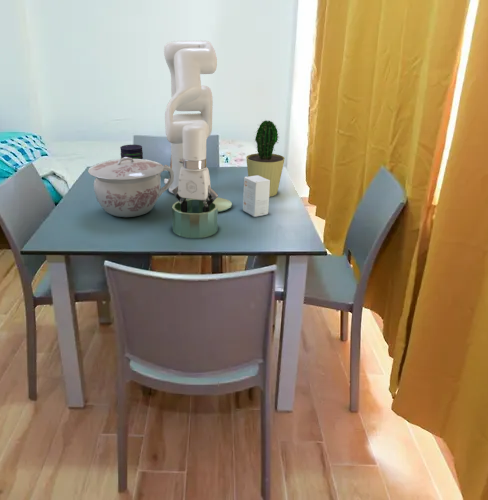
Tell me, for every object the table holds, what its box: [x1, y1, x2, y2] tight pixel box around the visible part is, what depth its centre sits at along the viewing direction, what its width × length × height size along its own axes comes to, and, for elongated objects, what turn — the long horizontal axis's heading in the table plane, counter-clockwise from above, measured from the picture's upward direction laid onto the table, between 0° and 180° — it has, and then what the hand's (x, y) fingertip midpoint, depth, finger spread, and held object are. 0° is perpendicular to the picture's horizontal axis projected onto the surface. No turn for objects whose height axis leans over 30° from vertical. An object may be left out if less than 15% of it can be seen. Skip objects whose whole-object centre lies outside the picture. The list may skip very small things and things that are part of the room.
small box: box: [242, 175, 270, 218], centre depth 179 cm, size 8×6×13 cm
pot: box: [171, 199, 219, 239], centre depth 165 cm, size 15×15×8 cm
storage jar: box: [120, 144, 144, 159], centre depth 219 cm, size 10×10×15 cm
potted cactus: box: [245, 119, 286, 198], centre depth 197 cm, size 15×15×30 cm
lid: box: [208, 195, 233, 213], centre depth 187 cm, size 16×16×6 cm
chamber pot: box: [87, 157, 174, 218], centre depth 180 cm, size 28×28×21 cm
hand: (195, 215), depth 165 cm, fingers open, 7 cm apart
